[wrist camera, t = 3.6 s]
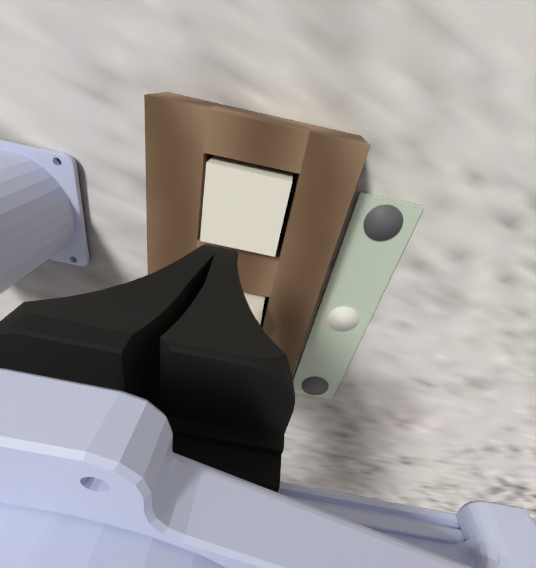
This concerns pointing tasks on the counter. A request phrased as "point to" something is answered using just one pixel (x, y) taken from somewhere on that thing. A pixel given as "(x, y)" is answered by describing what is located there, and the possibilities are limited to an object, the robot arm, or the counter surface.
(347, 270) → the pattern card
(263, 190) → the white square block
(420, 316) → the counter surface
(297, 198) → the brown flat rectangular frame
